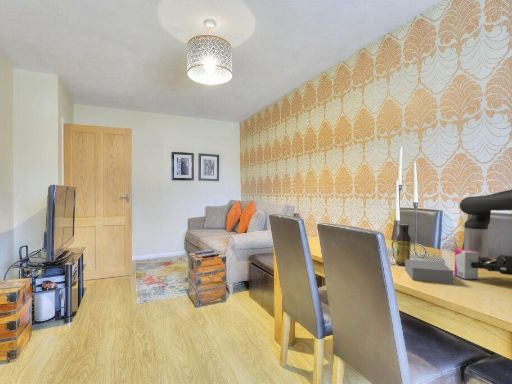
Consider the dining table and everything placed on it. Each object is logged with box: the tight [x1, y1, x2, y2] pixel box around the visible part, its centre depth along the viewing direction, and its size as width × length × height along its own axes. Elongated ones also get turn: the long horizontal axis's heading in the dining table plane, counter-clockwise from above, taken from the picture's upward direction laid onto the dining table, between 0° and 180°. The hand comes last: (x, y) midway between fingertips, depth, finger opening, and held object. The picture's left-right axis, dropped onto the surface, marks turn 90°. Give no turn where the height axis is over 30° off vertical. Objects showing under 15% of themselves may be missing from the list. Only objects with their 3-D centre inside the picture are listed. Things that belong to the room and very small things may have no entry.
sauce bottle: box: [394, 223, 412, 267], centre depth 133 cm, size 7×6×20 cm
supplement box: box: [454, 248, 479, 281], centre depth 114 cm, size 6×6×12 cm
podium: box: [404, 259, 454, 285], centre depth 115 cm, size 14×14×5 cm
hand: (466, 262), depth 113 cm, fingers open, 8 cm apart
